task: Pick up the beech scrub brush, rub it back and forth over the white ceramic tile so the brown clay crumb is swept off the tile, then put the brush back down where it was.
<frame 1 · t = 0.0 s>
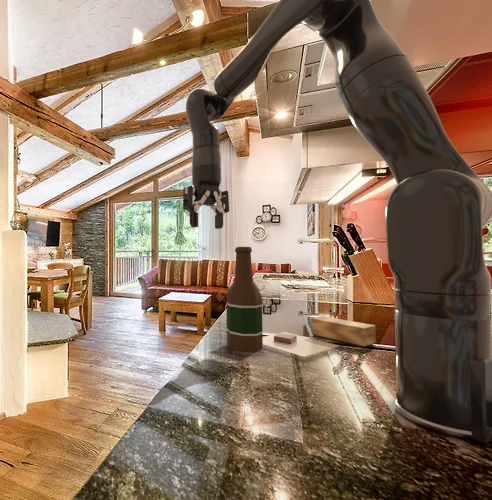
hand: (207, 227, 79), 29 cm above the countertop, tool pointing down, fingers open, 8 cm apart
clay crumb: (285, 340, 73), point 1 cm above the countertop, touching white tile
beer bottle: (244, 351, 69), on the countertop
scrub brush: (342, 344, 73), on the countertop
white tile: (293, 346, 71), on the countertop
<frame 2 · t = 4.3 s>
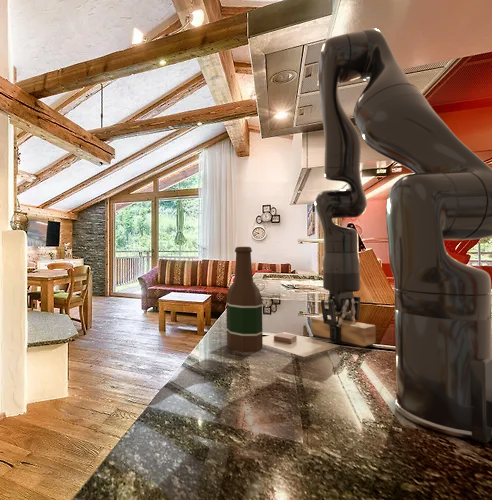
hand: (341, 339, 73), 1 cm above the countertop, tool pointing down, fingers closed on scrub brush, 5 cm apart
scrub brush: (342, 344, 73), on the countertop, touching gripper
everything else where it was.
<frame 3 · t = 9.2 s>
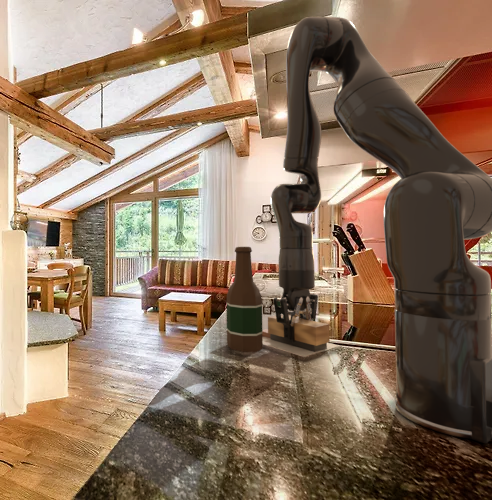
hand: (297, 339, 70), 2 cm above the countertop, tool pointing down, fingers closed on scrub brush, 5 cm apart
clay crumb: (270, 335, 77), point 1 cm above the countertop, touching scrub brush
scrub brush: (297, 343, 70), point 1 cm above the countertop, touching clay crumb, gripper
everything else where it was.
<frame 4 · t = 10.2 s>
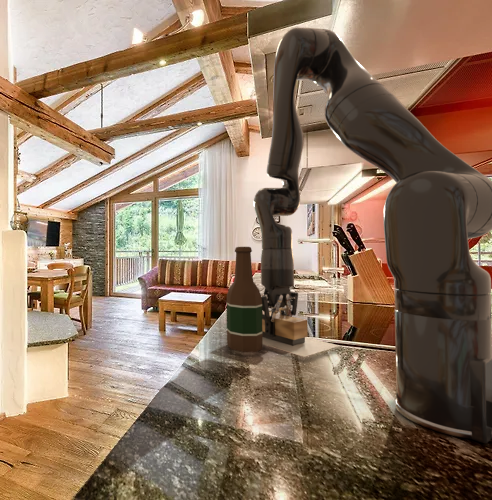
hand: (277, 334, 75), 2 cm above the countertop, tool pointing down, fingers closed on scrub brush, 5 cm apart
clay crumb: (260, 337, 80), on the countertop, touching scrub brush
scrub brush: (278, 338, 75), point 1 cm above the countertop, touching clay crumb, gripper
everything else where it was.
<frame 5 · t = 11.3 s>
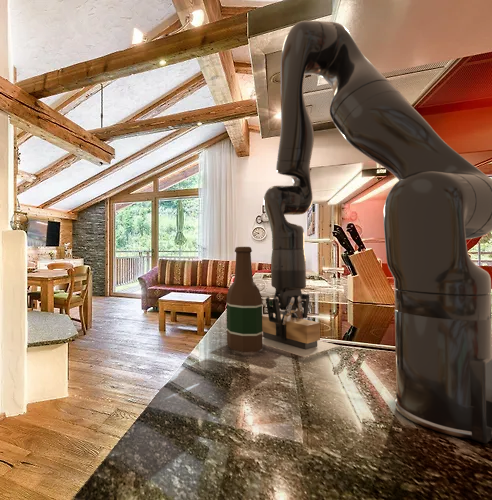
hand: (288, 338, 72), 2 cm above the countertop, tool pointing down, fingers closed on scrub brush, 5 cm apart
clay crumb: (260, 337, 80), on the countertop
scrub brush: (288, 341, 72), point 1 cm above the countertop, touching gripper, white tile
everything else where it was.
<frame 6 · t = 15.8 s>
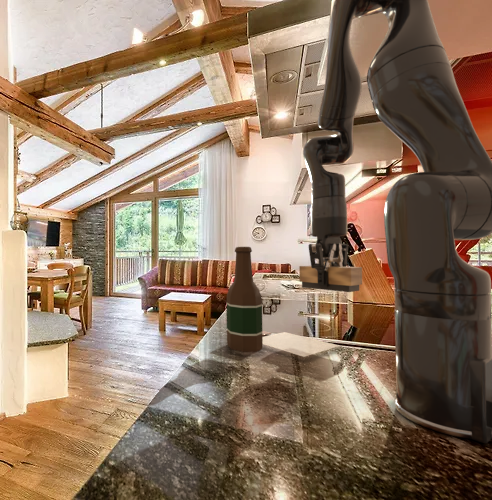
hand: (329, 285, 73), 14 cm above the countertop, tool pointing down, fingers closed on scrub brush, 5 cm apart
scrub brush: (329, 289, 73), point 13 cm above the countertop, touching gripper
everything else where it was.
when the fingers open (1 cm above the countertop, at t = 19.5 s): scrub brush stays where it is, on the countertop.
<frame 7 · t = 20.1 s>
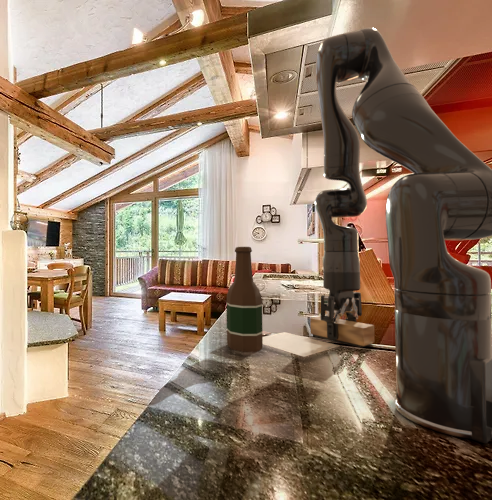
hand: (342, 336, 73), 2 cm above the countertop, tool pointing down, fingers open, 8 cm apart
scrub brush: (340, 343, 73), on the countertop
everything else where it was.
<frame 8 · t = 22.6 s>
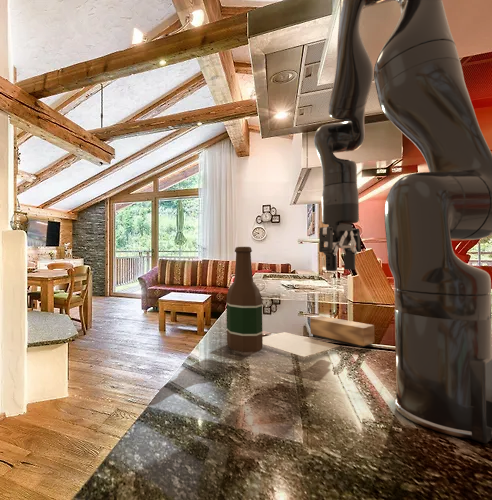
hand: (340, 270, 73), 18 cm above the countertop, tool pointing down, fingers open, 8 cm apart
nothing on the countertop moved.
at the end: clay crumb inside the target area (3.0 cm from its centre), on the countertop; scrub brush inside the target area (0.2 cm from its centre), on the countertop; beer bottle moved 0.2 cm from its start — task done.
